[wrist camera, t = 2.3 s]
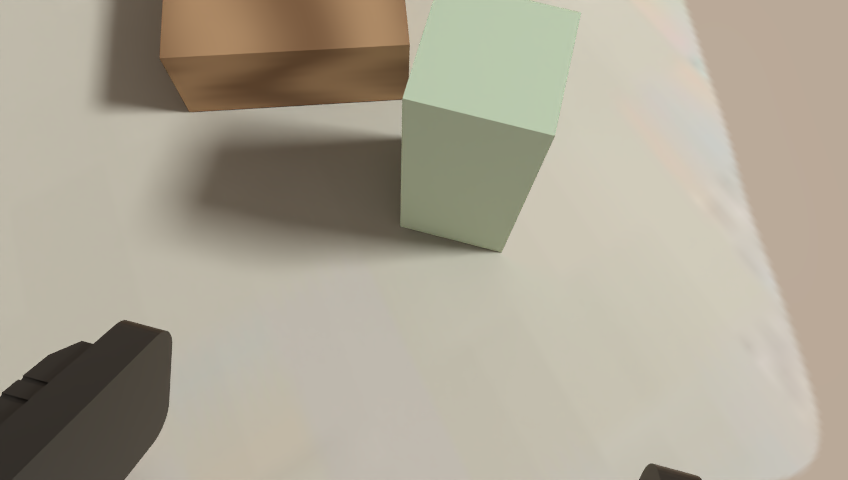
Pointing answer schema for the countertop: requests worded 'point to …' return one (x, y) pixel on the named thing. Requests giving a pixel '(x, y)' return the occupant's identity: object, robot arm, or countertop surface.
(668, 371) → the countertop surface
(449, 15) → the block
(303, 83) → the base
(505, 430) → the countertop surface
